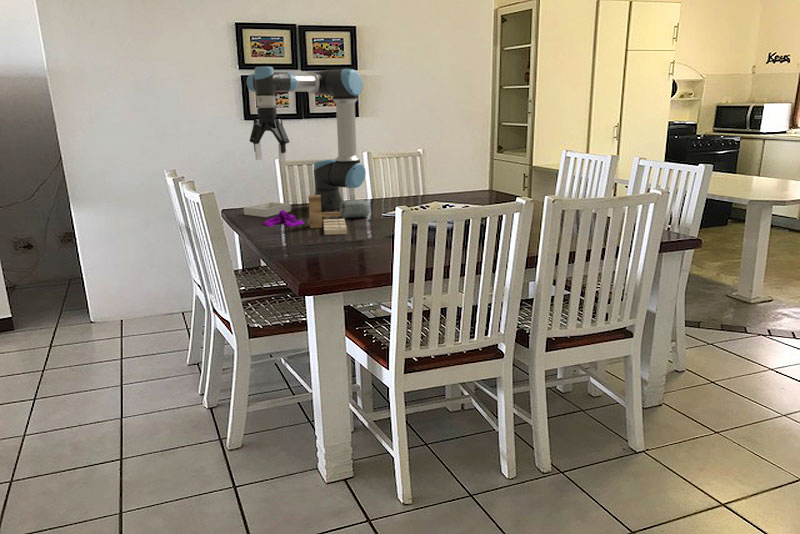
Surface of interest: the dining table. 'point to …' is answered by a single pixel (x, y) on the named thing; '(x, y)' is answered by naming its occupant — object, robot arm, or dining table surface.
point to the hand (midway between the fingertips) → (270, 160)
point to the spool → (354, 209)
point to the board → (334, 226)
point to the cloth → (283, 220)
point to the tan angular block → (318, 211)
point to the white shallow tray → (266, 209)
